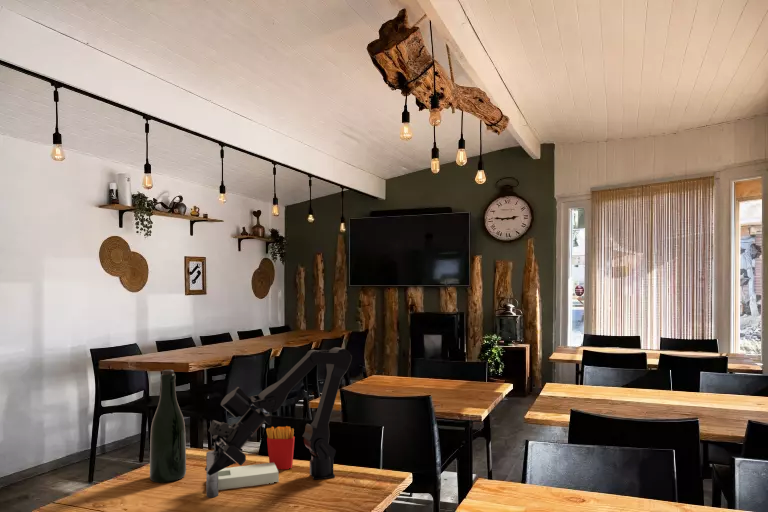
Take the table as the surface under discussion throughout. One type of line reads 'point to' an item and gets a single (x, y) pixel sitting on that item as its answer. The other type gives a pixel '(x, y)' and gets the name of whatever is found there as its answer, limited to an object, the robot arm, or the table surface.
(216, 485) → the peg
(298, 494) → the table surface
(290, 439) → the french fries
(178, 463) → the beer bottle
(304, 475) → the table surface
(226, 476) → the socket board
